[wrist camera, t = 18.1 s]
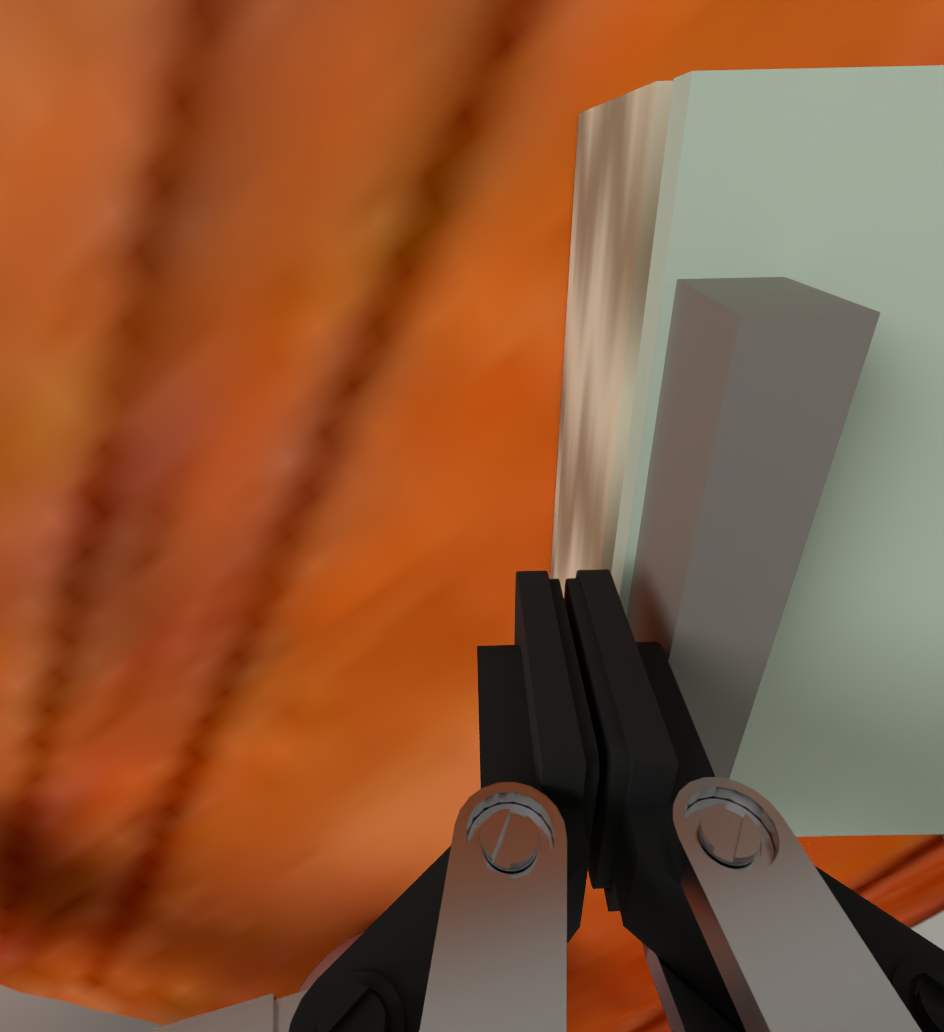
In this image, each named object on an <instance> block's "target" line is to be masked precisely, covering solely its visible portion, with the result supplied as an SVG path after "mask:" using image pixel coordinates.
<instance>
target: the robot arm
mask: <svg viewBox="0 0 944 1032" xmlns="http://www.w3.org/2000/svg"><path fill="white" fill-rule="evenodd" d="M477 656H478V695H479V733H480V772H481V789H480V790H479V791H477V792H476V793H475V794H473V795H472V796H470V797H469V799H468V800H467V801H466V803H465V804H464V805H463V807H462V808H461V809H460V811H459V814H458V817H457V820H456V823H455V827H454V833H453V838H452V844H451V846H450V847H449V848H448V849H447V850H446V851H445V852H444V853H443V854H442V855H441V856H440V857H439V858H438V859H437V860H436V861H435V862H434V863H433V864H432V865H431V866H430V867H429V868H428V869H427V870H426V871H425V872H424V873H423V874H422V875H421V876H420V877H419V878H418V879H417V880H416V881H415V882H414V883H413V884H412V885H411V886H410V887H409V888H408V889H407V890H406V891H405V892H404V893H403V894H402V895H401V896H400V897H399V898H398V899H397V900H396V901H395V902H394V903H393V904H392V905H391V906H390V907H389V908H388V909H387V910H386V911H385V912H384V913H383V914H382V915H381V916H380V917H379V918H378V919H377V920H376V921H375V922H374V923H373V924H372V925H371V926H370V927H369V928H368V929H367V930H366V931H365V932H364V933H363V934H362V935H361V936H360V937H359V938H358V939H357V940H356V941H355V942H354V943H353V944H352V945H351V946H350V947H349V948H348V949H347V950H346V951H345V952H344V953H343V954H342V955H341V956H340V957H339V958H338V959H337V960H336V961H335V962H334V963H333V964H332V965H331V966H330V967H329V968H328V969H327V970H326V971H324V972H323V973H322V974H321V975H320V976H319V977H318V978H317V979H316V981H315V982H314V983H313V985H312V986H311V987H310V988H309V990H305V991H302V992H299V993H296V994H292V995H289V996H286V997H282V998H279V999H276V997H275V995H274V993H272V994H269V995H265V996H262V997H259V998H255V999H252V1000H249V1001H245V1002H242V1003H239V1004H235V1005H232V1006H229V1007H225V1008H222V1009H219V1010H215V1011H212V1012H209V1013H205V1014H202V1015H199V1016H195V1017H192V1018H189V1019H186V1020H182V1021H179V1022H176V1023H172V1024H169V1025H166V1026H162V1027H159V1028H156V1029H152V1030H149V1031H146V1032H567V943H568V942H569V941H570V939H571V938H572V936H573V935H574V934H575V932H576V931H577V930H578V928H579V927H580V922H581V915H582V908H583V900H584V893H585V886H586V879H587V871H589V877H590V881H591V885H592V887H593V889H597V888H604V891H605V897H606V902H607V907H608V911H620V912H621V916H622V921H623V926H624V927H625V928H627V929H628V930H629V931H630V932H631V933H632V934H633V935H635V936H636V937H637V938H638V939H639V940H640V941H641V942H642V944H643V949H644V953H645V958H646V961H647V964H648V966H649V969H650V972H651V975H652V977H653V980H654V983H655V986H656V989H657V991H658V994H659V997H660V1000H661V1002H662V1005H663V1008H664V1011H665V1014H666V1016H667V1019H668V1022H669V1025H670V1027H671V1030H672V1032H944V951H943V950H942V949H940V948H939V947H937V946H936V945H934V944H933V943H931V942H930V941H928V940H927V939H925V938H924V937H922V936H921V935H919V934H918V933H916V932H915V931H913V930H912V929H910V928H909V927H907V926H905V925H904V924H902V923H901V922H899V921H898V920H896V919H895V918H893V917H892V916H890V915H889V914H887V913H886V912H884V911H883V910H881V909H880V908H878V907H877V906H875V905H874V904H872V903H871V902H869V901H867V900H866V899H864V898H863V897H861V896H860V895H858V894H857V893H855V892H854V891H852V890H851V889H849V888H848V887H846V886H845V885H843V884H842V883H840V882H839V881H837V880H836V879H834V878H833V877H831V876H829V875H828V874H826V873H825V872H823V871H822V870H820V869H819V868H817V867H816V866H814V864H813V863H812V861H811V860H810V858H809V857H808V855H807V854H806V852H805V850H804V849H803V847H802V846H801V844H800V843H799V841H798V840H797V838H796V837H795V835H794V834H793V832H792V830H791V829H790V827H789V826H788V824H787V823H786V821H785V820H784V818H783V817H782V816H781V814H780V813H779V812H778V811H777V809H776V808H775V807H774V806H773V805H772V803H771V802H770V801H768V800H767V799H766V798H765V797H763V796H762V795H761V794H759V793H758V792H757V791H756V790H754V789H752V788H750V787H748V786H746V785H744V784H742V783H740V782H738V781H734V780H730V779H726V778H722V777H715V774H714V772H713V769H712V767H711V765H710V762H709V760H708V757H707V755H706V752H705V750H704V747H703V745H702V743H701V740H700V738H699V735H698V733H697V730H696V728H695V725H694V723H693V721H692V718H691V716H690V713H689V711H688V708H687V706H686V703H685V701H684V699H683V696H682V694H681V691H680V689H679V686H678V684H677V682H676V679H675V677H674V674H673V672H672V669H671V667H670V664H669V662H668V660H667V657H666V655H665V652H664V650H663V648H662V646H661V645H660V644H659V643H658V642H635V639H634V636H633V633H632V631H631V628H630V625H629V622H628V620H627V617H626V614H625V611H624V608H623V606H622V603H621V600H620V597H619V594H618V592H617V589H616V586H615V583H614V580H613V578H612V575H611V573H610V571H609V570H608V569H601V570H578V571H577V573H576V578H567V579H566V581H565V591H564V598H563V593H562V589H561V584H560V580H559V579H549V578H548V573H547V571H519V572H516V592H515V645H500V646H477Z"/></svg>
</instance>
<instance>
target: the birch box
mask: <svg viewBox="0 0 944 1032" xmlns="http://www.w3.org/2000/svg"><path fill="white" fill-rule="evenodd" d="M672 89H673V81H656V82H653V83H651V84H649V85H646V86H644V87H641V88H639V89H636V90H634V91H632V92H629V93H627V94H624V95H622V96H620V97H617V98H615V99H612V100H610V101H608V102H605V103H603V104H600V105H598V106H596V107H593V108H591V109H588V110H586V111H584V112H581V113H579V119H578V135H577V151H576V168H575V184H574V200H573V217H572V233H571V249H570V266H569V282H568V298H567V315H566V331H565V347H564V364H563V380H562V396H561V413H560V429H559V445H558V462H557V478H556V494H555V511H554V527H553V543H552V560H551V576H550V579H559V580H560V584H561V589H562V593H563V598H564V591H565V581H566V579H567V578H576V573H577V571H578V570H601V569H608V570H609V571H610V573H611V572H612V564H613V556H614V548H615V540H616V532H617V524H618V517H619V509H620V501H621V493H622V485H623V477H624V469H625V461H626V453H627V445H628V437H629V430H630V422H631V414H632V406H633V398H634V390H635V382H636V374H637V366H638V358H639V350H640V342H641V335H642V327H643V319H644V311H645V303H646V295H647V287H648V279H649V271H650V263H651V255H652V247H653V240H654V232H655V224H656V216H657V208H658V200H659V192H660V184H661V176H662V168H663V160H664V152H665V145H666V137H667V129H668V121H669V113H670V105H671V97H672Z"/></svg>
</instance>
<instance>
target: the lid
mask: <svg viewBox="0 0 944 1032" xmlns="http://www.w3.org/2000/svg"><path fill="white" fill-rule="evenodd" d="M611 575H612V578H613V580H614V583H615V586H616V589H617V592H618V594H619V597H620V600H621V603H622V606H623V608H624V611H625V614H626V617H627V620H628V622H629V625H630V628H631V631H632V633H633V636H634V639H635V642H658V643H659V644H660V645H661V646H662V648H663V650H664V652H665V655H666V657H667V660H668V662H669V664H670V667H671V669H672V672H673V674H674V677H675V679H676V682H677V684H678V686H679V689H680V691H681V694H682V696H683V699H684V701H685V703H686V706H687V708H688V711H689V713H690V716H691V718H692V721H693V723H694V725H695V728H696V730H697V733H698V735H699V738H700V740H701V743H702V745H703V747H704V750H705V752H706V755H707V757H708V760H709V762H710V765H711V767H712V769H713V772H714V774H715V777H722V778H726V779H730V780H734V781H738V782H740V783H742V784H744V785H746V786H748V787H750V788H752V789H754V790H756V791H757V792H758V793H759V794H761V795H762V796H763V797H765V798H766V799H767V800H768V801H770V802H771V803H772V805H773V806H774V807H775V808H776V809H777V811H778V812H779V813H780V814H781V816H782V817H783V818H784V820H785V821H786V823H787V824H788V826H789V827H790V829H791V830H792V832H793V834H794V835H795V837H799V836H860V835H921V834H944V65H936V66H892V67H847V68H803V69H759V70H714V71H691V72H689V73H686V74H684V75H681V76H679V77H676V78H674V81H673V89H672V97H671V105H670V113H669V121H668V129H667V137H666V145H665V152H664V160H663V168H662V176H661V184H660V192H659V200H658V208H657V216H656V224H655V232H654V240H653V247H652V255H651V263H650V271H649V279H648V287H647V295H646V303H645V311H644V319H643V327H642V335H641V342H640V350H639V358H638V366H637V374H636V382H635V390H634V398H633V406H632V414H631V422H630V430H629V437H628V445H627V453H626V461H625V469H624V477H623V485H622V493H621V501H620V509H619V517H618V524H617V532H616V540H615V548H614V556H613V564H612V572H611Z"/></svg>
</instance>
